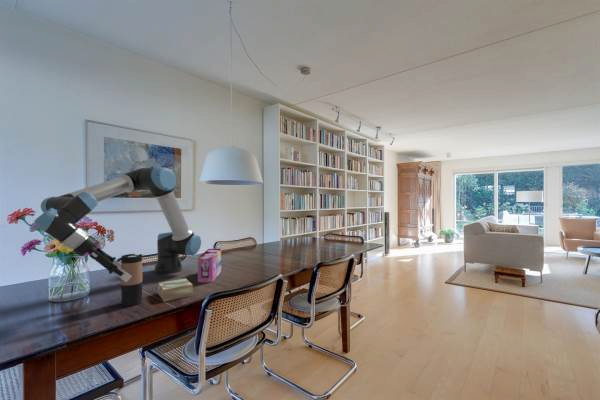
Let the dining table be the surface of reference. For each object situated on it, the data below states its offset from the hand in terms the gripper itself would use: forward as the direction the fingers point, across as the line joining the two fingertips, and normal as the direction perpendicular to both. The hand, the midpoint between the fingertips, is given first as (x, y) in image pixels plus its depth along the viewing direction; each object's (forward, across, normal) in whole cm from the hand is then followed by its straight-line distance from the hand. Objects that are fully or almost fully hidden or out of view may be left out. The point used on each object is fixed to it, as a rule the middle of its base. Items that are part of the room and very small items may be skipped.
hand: (127, 275), depth 115 cm
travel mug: (+10, -1, -8) cm, 12 cm away
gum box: (+38, -20, +21) cm, 48 cm away
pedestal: (+22, -1, +5) cm, 22 cm away
